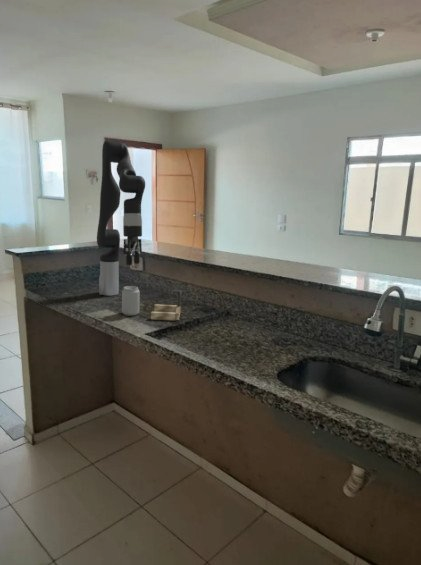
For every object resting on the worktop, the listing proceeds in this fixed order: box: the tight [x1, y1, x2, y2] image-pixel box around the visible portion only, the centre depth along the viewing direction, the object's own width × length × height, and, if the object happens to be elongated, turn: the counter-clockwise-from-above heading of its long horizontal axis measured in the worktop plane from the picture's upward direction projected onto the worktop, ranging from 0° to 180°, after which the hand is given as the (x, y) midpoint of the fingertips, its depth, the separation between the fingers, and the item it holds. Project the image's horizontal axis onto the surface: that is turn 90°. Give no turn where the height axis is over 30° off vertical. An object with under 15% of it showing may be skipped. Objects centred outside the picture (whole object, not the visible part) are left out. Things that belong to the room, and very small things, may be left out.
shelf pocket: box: [150, 289, 182, 322], centre depth 176 cm, size 12×13×10 cm
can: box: [121, 285, 141, 317], centre depth 175 cm, size 8×8×12 cm
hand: (133, 264), depth 168 cm, fingers open, 8 cm apart
